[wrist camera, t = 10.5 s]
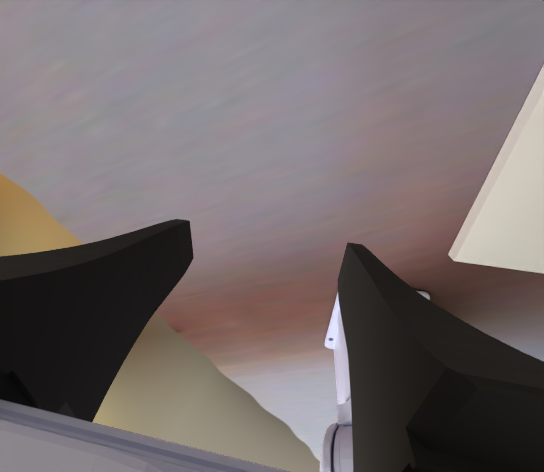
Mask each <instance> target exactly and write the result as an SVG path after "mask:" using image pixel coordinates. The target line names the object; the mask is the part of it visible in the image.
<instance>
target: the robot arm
mask: <svg viewBox="0 0 544 472" xmlns="http://www.w3.org/2000/svg"><path fill="white" fill-rule="evenodd" d="M192 260H193V248H192V239H191V230H190V221H187V220H179V219H175V220H170V221H166V222H163V223H159V224H156V225H153V226H150V227H146V228H143V229H140V230H137V231H134V232H130V233H127V234H123V235H120V236H116V237H113V238H109V239H105V240H102V241H97V242H93V243H89V244H84V245H79V246H74V247H69V248H62V249H56V250H51V251H44V252H37V253H29V254H21V255H12V256H2V257H0V472H289V471H284V470H281V469H277V468H273V467H269V466H265V465H261V464H257V463H253V462H249V461H244V460H240V459H237V458H233V457H229V456H224V455H221V454H216V453H213V452H208V451H205V450H201V449H197V448H193V447H189V446H184V445H180V444H177V443H173V442H169V441H165V440H161V439H156V438H153V437H148V436H144V435H141V434H137V433H133V432H129V431H125V430H121V429H116V428H113V427H109V426H104V425H101V424H97V423H93V422H92V421H93V419H94V417H95V415H96V413H97V411H98V409H99V407H100V405H101V403H102V401H103V399H104V397H105V395H106V393H107V391H108V389H109V388H110V386H111V384H112V382H113V380H114V378H115V377H116V375H117V373H118V371H119V369H120V367H121V365H122V364H123V362H124V360H125V359H126V357H127V355H128V353H129V352H130V350H131V348H132V347H133V345H134V343H135V342H136V340H137V338H138V337H139V335H140V334H141V332H142V330H143V329H144V327H145V325H146V324H147V322H148V321H149V319H150V318H151V317H152V315H153V314H154V312H155V311H156V310H157V309H158V307H159V306H160V305H161V304H162V302H163V301H164V300H165V298H166V297H167V296H168V295H169V293H170V292H171V291H172V290H173V288H174V287H175V286H176V284H177V283H178V282H179V281H180V279H181V278H182V277H183V275H184V274H185V272H186V270H187V269H188V267H189V265H190V263H191V261H192ZM325 347H327V348H331V349H334V359H335V373H336V386H337V398H338V404H339V405H337V418H338V423H334V424H332V425H330V426H329V427H328V429H327V431H326V433H325V437H324V440H323V444H322V448H321V455H320V472H544V362H543V361H541V360H539V359H536V358H534V357H532V356H530V355H527V354H525V353H523V352H521V351H519V350H517V349H515V348H513V347H511V346H509V345H507V344H505V343H503V342H501V341H499V340H497V339H495V338H493V337H491V336H489V335H487V334H485V333H483V332H482V331H480V330H478V329H476V328H474V327H472V326H471V325H469V324H467V323H465V322H464V321H462V320H460V319H459V318H457V317H455V316H453V315H452V314H450V313H448V312H447V311H445V310H444V309H442V308H440V307H439V306H437V305H436V304H434V303H433V302H431V301H430V296H429V294H428V293H427V292H422V291H416V290H414V289H413V288H412V287H410V286H409V285H408V284H407V283H405V282H404V281H403V280H402V279H400V278H399V277H398V276H397V275H396V274H394V273H393V272H392V271H391V270H390V269H389V268H387V267H386V266H385V265H384V264H383V263H382V262H381V261H380V260H379V259H378V258H377V257H376V256H374V255H373V254H372V253H371V252H370V251H369V250H368V249H367V248H366V247H365V246H363V245H361V244H354V243H347V246H346V250H345V254H344V258H343V262H342V266H341V270H340V274H339V278H338V293H337V297H336V301H335V305H334V308H333V312H332V316H331V320H330V324H329V327H328V331H327V335H326V339H325Z"/></svg>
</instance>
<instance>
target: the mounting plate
mask: <svg viewBox="0 0 544 472" xmlns="http://www.w3.org/2000/svg"><path fill="white" fill-rule="evenodd" d="M448 255H449V256H450V257H451V258H452V259H453V260H454V261H457V262H465V263H472V264H479V265H486V266H493V267H500V268H508V269H515V270H522V271H529V272H536V273H544V65H543V67H542V69H541V71H540V73H539V75H538V77H537V79H536V81H535V83H534V85H533V87H532V89H531V91H530V93H529V95H528V97H527V99H526V101H525V103H524V105H523V107H522V109H521V111H520V113H519V115H518V116H517V118H516V120H515V122H514V124H513V126H512V128H511V130H510V132H509V134H508V136H507V138H506V140H505V142H504V144H503V146H502V148H501V150H500V152H499V154H498V156H497V158H496V160H495V162H494V164H493V166H492V168H491V170H490V172H489V174H488V176H487V178H486V180H485V182H484V184H483V186H482V188H481V190H480V192H479V194H478V196H477V198H476V200H475V202H474V204H473V206H472V208H471V210H470V212H469V214H468V216H467V218H466V220H465V222H464V224H463V225H462V227H461V229H460V231H459V233H458V235H457V237H456V239H455V241H454V243H453V245H452V247H451V249H450V251H449V253H448Z"/></svg>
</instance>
